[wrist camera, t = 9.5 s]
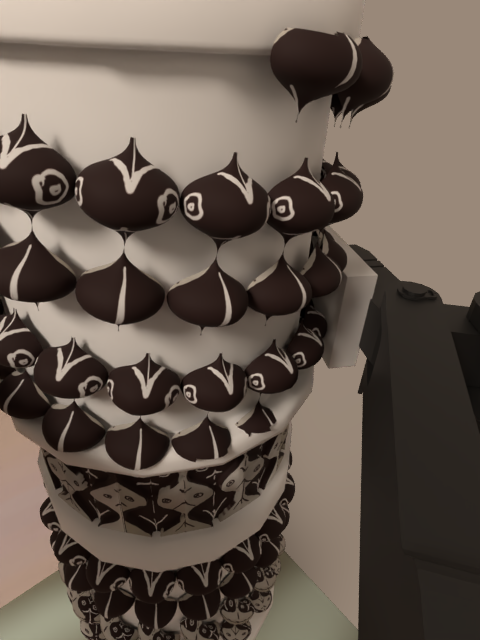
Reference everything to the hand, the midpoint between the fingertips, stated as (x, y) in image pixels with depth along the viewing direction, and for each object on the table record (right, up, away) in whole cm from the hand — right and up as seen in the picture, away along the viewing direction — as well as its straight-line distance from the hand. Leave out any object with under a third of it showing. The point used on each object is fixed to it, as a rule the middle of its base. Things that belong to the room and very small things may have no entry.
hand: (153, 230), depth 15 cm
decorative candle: (0, -14, +4) cm, 14 cm away
